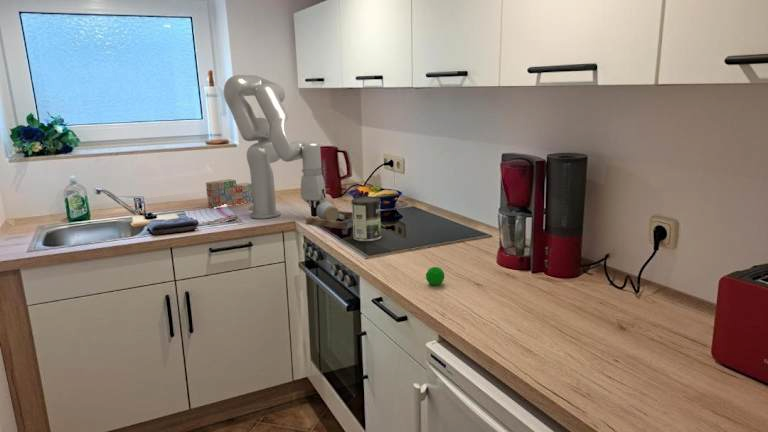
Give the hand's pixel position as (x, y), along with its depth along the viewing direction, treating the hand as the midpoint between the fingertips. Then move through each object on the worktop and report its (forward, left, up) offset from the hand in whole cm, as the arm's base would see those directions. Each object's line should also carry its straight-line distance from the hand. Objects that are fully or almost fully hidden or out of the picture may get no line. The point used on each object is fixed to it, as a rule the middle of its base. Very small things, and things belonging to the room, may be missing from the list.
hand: (315, 215), depth 228 cm
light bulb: (+8, +1, -2) cm, 8 cm away
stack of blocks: (-57, +5, -2) cm, 57 cm away
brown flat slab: (+12, 0, -1) cm, 12 cm away
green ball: (+80, -45, -2) cm, 92 cm away
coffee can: (+36, -14, -2) cm, 39 cm away
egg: (-4, +12, -2) cm, 13 cm away
